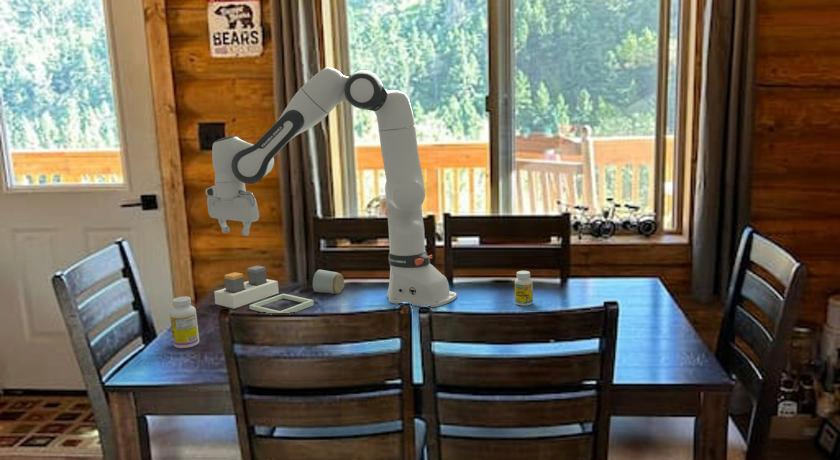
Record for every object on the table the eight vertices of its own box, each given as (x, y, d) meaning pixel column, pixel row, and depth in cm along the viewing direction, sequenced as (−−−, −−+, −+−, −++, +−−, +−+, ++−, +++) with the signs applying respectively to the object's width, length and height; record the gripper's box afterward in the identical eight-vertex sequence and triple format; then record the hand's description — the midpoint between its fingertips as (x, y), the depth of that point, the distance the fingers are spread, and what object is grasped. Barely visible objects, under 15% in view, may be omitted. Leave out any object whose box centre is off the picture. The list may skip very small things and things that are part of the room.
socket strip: (279, 296, 234) (277, 281, 233) (234, 311, 220) (232, 295, 219) (260, 292, 239) (259, 277, 238) (215, 306, 226) (214, 291, 224)
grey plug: (245, 301, 226) (242, 273, 224) (235, 304, 223) (232, 276, 221) (237, 299, 229) (234, 272, 227) (227, 302, 226) (224, 275, 224)
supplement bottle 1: (177, 341, 197) (171, 295, 194) (201, 339, 197) (196, 294, 195) (171, 350, 190) (165, 303, 188) (196, 348, 191) (191, 301, 188)
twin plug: (267, 294, 233) (265, 267, 232) (257, 297, 230) (255, 270, 228) (259, 292, 236) (257, 265, 234) (249, 295, 233) (247, 268, 231)
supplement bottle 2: (534, 301, 218) (533, 270, 216) (531, 306, 213) (531, 275, 211) (516, 300, 220) (516, 269, 218) (513, 305, 215) (512, 274, 213)
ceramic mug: (335, 297, 230) (333, 274, 228) (312, 295, 233) (311, 272, 231) (350, 288, 239) (349, 266, 238) (328, 287, 243) (327, 264, 241)
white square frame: (314, 306, 221) (313, 300, 221) (280, 319, 211) (279, 312, 210) (283, 300, 230) (283, 293, 229) (250, 312, 219) (249, 305, 219)
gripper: (261, 189, 217) (266, 234, 220) (218, 186, 230) (223, 229, 233) (245, 193, 213) (249, 239, 215) (201, 189, 225) (207, 233, 228)
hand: (235, 233), depth 224 cm, fingers open, 8 cm apart
